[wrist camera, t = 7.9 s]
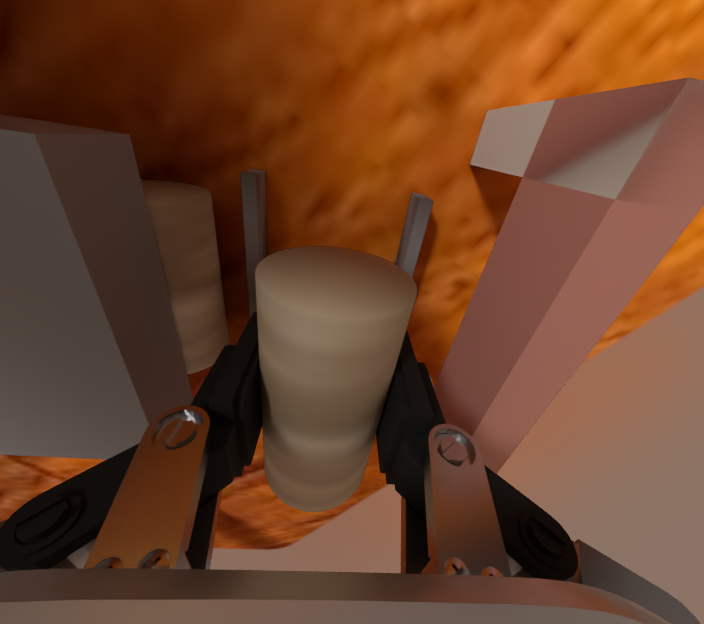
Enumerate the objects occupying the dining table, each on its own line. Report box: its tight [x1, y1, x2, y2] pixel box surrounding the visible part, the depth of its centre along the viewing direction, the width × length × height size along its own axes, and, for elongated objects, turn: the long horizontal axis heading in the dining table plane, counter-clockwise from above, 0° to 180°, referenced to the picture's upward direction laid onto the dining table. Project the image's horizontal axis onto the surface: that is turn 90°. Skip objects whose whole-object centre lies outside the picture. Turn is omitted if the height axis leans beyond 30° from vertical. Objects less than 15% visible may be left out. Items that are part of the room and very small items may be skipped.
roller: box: [255, 246, 417, 512], centre depth 9 cm, size 8×4×4 cm, turn 172°
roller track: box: [141, 169, 433, 375], centre depth 13 cm, size 10×25×4 cm, turn 82°
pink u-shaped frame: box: [429, 78, 704, 473], centre depth 13 cm, size 17×2×8 cm, turn 172°
